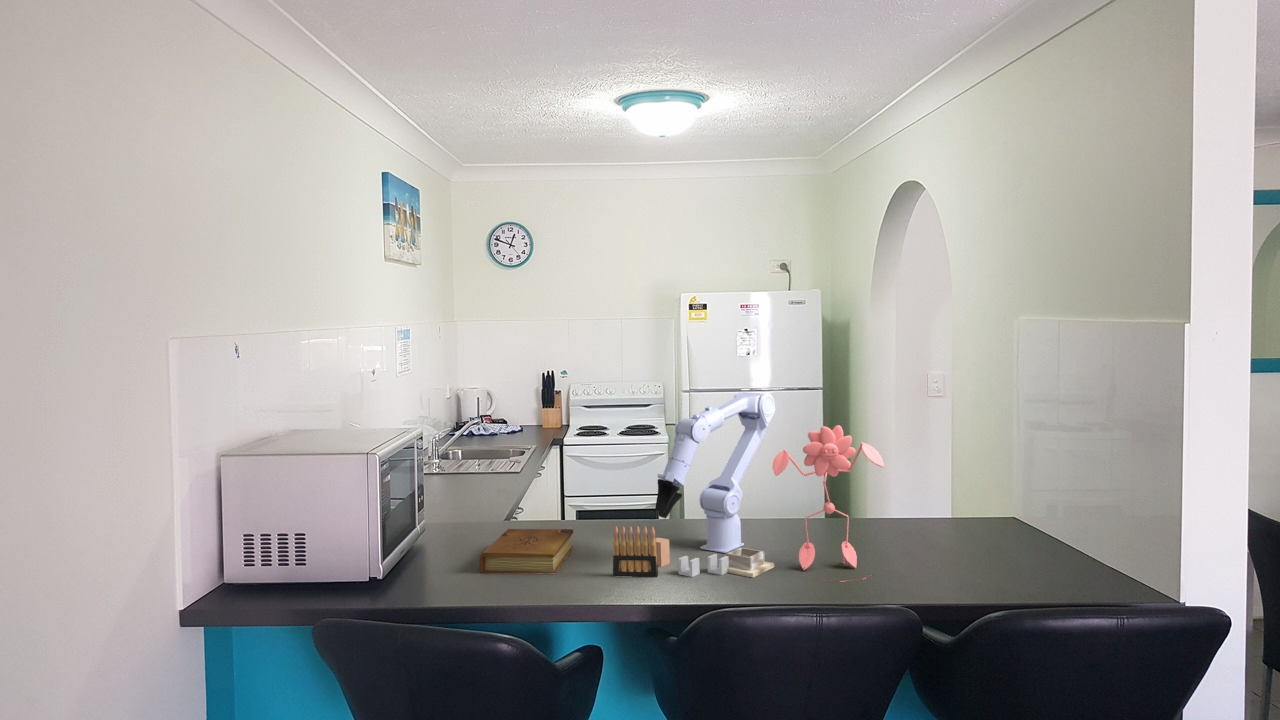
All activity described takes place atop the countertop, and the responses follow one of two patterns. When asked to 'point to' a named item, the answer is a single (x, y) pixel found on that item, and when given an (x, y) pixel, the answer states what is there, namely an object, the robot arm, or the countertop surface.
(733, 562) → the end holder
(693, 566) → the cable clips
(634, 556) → the ammunition clip
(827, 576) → the countertop surface
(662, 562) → the orange rectangular block
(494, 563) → the diary
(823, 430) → the figurine
